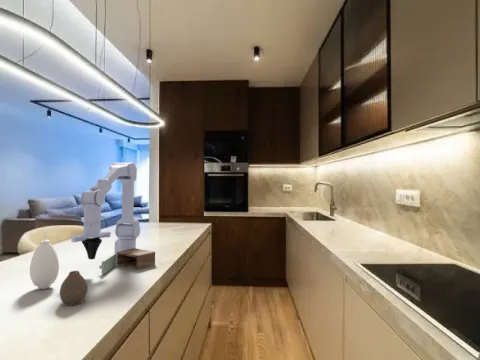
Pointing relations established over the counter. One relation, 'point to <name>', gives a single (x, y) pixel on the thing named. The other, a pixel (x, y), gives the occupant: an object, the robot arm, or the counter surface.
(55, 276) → the white tall ovoid
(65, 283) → the vase
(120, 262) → the brown wooden box
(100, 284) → the counter surface
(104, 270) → the door
